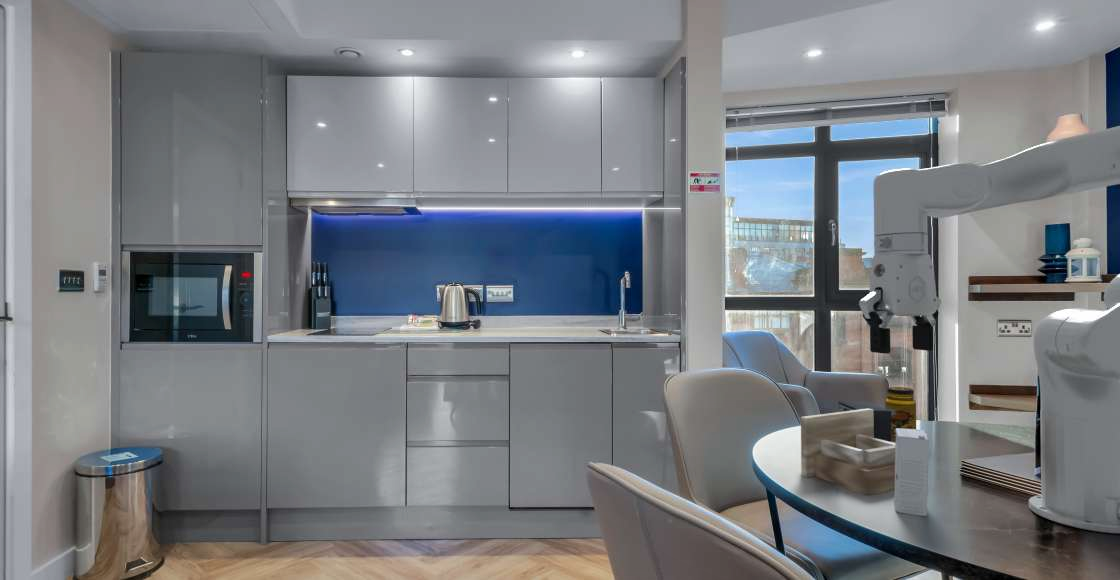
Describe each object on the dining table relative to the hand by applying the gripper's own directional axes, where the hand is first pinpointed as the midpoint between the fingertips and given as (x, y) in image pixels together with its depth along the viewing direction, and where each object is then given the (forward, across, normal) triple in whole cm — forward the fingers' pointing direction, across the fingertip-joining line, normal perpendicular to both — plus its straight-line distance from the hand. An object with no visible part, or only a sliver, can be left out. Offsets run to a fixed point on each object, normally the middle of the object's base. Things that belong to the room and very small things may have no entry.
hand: (901, 351), depth 93 cm
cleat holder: (+25, +4, +12) cm, 28 cm away
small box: (+25, +18, +22) cm, 38 cm away
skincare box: (+25, -1, -2) cm, 25 cm away
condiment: (+25, +35, +28) cm, 52 cm away
